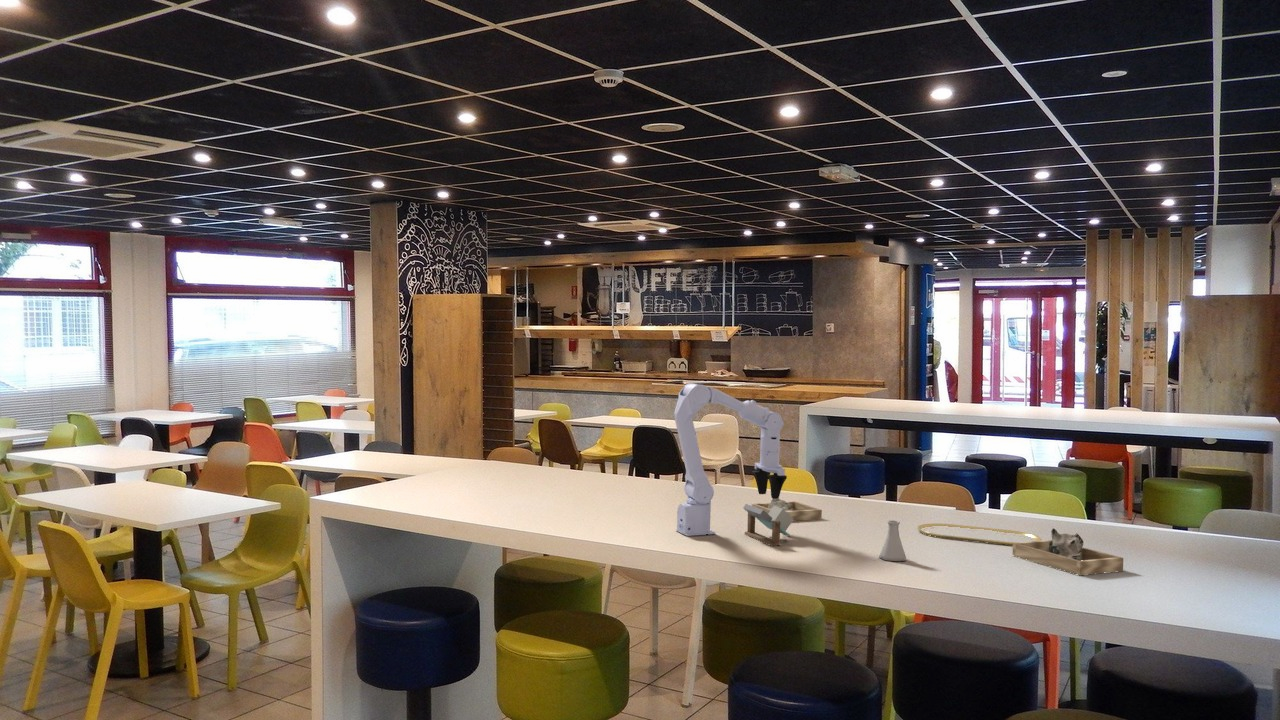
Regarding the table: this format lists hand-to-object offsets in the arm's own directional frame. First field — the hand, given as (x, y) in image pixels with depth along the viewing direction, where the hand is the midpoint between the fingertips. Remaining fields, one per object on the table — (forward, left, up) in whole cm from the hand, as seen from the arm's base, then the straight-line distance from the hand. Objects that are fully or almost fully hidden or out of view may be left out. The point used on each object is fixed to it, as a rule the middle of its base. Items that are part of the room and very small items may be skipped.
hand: (768, 496), depth 268 cm
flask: (+14, -41, -11) cm, 45 cm away
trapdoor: (-8, -11, -5) cm, 14 cm away
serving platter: (+58, -25, -11) cm, 64 cm away
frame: (-8, -11, -10) cm, 17 cm away
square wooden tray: (+18, +19, -10) cm, 28 cm away
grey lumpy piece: (+56, -59, -10) cm, 82 cm away
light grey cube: (-3, -11, -5) cm, 12 cm away
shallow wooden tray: (+56, -59, -10) cm, 82 cm away
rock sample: (+15, +18, -11) cm, 26 cm away
